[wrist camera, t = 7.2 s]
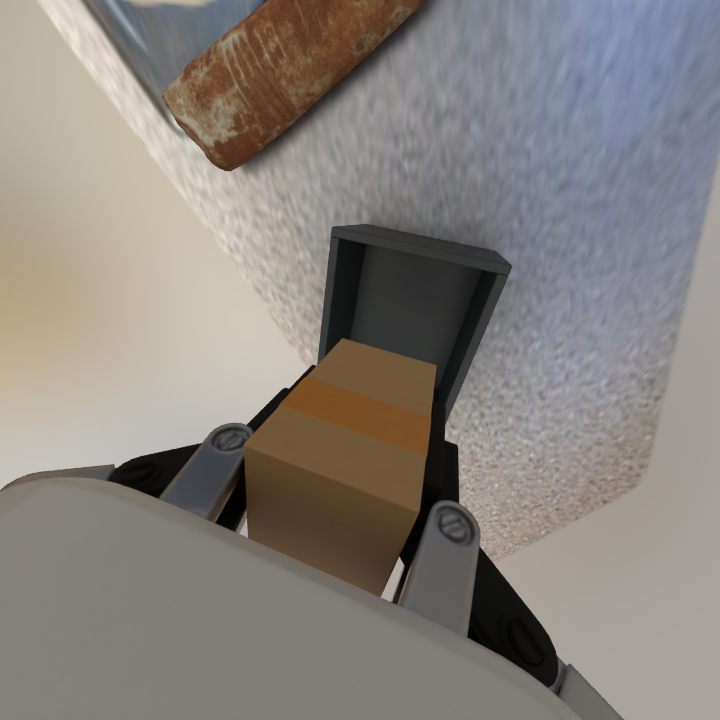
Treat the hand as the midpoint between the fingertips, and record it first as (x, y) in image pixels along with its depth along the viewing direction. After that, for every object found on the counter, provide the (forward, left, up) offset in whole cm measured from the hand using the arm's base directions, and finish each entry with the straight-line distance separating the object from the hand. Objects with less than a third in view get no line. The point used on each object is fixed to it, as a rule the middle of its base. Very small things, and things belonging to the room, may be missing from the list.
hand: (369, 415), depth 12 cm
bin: (+1, -1, -17) cm, 17 cm away
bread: (-16, -13, -18) cm, 27 cm away
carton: (0, 0, -1) cm, 1 cm away
